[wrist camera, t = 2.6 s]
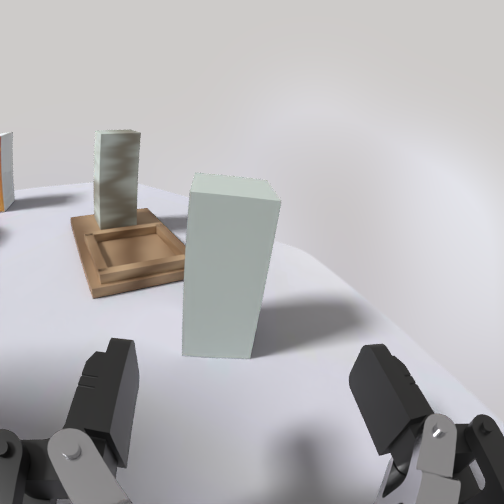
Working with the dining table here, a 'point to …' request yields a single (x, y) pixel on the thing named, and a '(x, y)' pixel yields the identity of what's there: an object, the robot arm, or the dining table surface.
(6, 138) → the small box
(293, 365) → the dining table surface
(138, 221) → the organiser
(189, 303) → the sage block
